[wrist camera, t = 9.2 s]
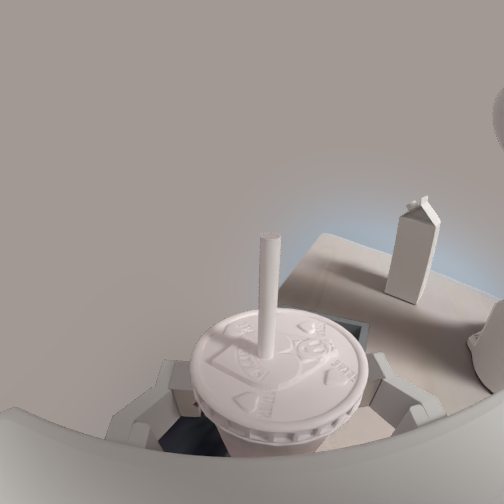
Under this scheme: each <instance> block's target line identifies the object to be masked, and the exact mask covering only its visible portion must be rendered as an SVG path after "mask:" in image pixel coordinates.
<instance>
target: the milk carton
mask: <svg viewBox="0 0 504 504" xmlns="http://www.w3.org/2000/svg"><path fill="white" fill-rule="evenodd" d="M406 207H407V208H408V210H409V212H407V213H405V214H404V215H402V216H400V218H399V224H398V229H397V235H396V241H395V246H394V251H393V256H392V261H391V265H390V270H389V274H388V279H387V283H386V287H385V291H384V292H385V293H387V294H390V295H392V296H395V297H397V298H400V299H402V300H405V301H408V302H410V303H413V304H415V305H416V304H417V303H418V301H419V299H420V297H421V296H422V294H423V292H424V289H425V286H426V282H427V279H428V275H429V272H430V268H431V264H432V260H433V256H434V252H435V247H436V243H437V238H438V234H439V229H440V223H441V220H440V219H439V217H438V216H437V214H436V213H435V211H434V210H433V209H432V207H431V206H430V204H429V203H428V196H425V197H423V198H421V201H420V205H419V206H418V204H417V203H416V201H413V202H411V203H409V204H408V205H406Z"/></svg>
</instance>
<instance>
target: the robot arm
mask: <svg viewBox="0 0 504 504" xmlns="http://www.w3.org/2000/svg"><path fill="white" fill-rule="evenodd" d="M493 125H494V130H495V134H496V137H497V139H498V142H499V144H500V146H501V148H502V149H503V151H504V88H503V89H502V90H501V91H500V92H499V93H498V95H497V97H496V99H495V103H494V106H493ZM467 345H468V347H469V349H470V351H471V352H472V358H473V365H474V368H475V371H476V373H477V375H478V377H479V378H480V380H481V381H482V382H483V384H484V385H485V386H486V387H487V388H488V389H489V390H490V391H492V392H493V393H494V394H492V395H491V396H489V397H487V398H485V399H483V400H481V401H479V402H477V403H475V404H473V405H471V406H469V407H467V408H465V409H463V410H461V411H459V412H457V413H454V414H452V415H450V416H447V414H446V412H445V411H444V409H443V407H442V405H441V404H440V402H439V400H438V399H437V397H435V396H433V395H431V394H430V393H428V392H426V391H424V390H423V389H421V388H419V387H417V386H416V385H414V384H412V383H411V382H409V381H407V380H405V379H404V378H402V377H400V376H396V375H395V373H394V372H393V370H392V368H391V366H390V364H389V363H388V361H387V359H386V357H385V356H384V354H383V353H382V352H376V353H371V354H366V357H367V361H368V369H369V371H368V379H367V383H366V386H365V389H364V391H363V395H362V399H361V403H360V405H359V406H358V408H359V407H365V406H369V407H370V408H372V409H373V410H374V411H375V412H376V413H377V414H379V415H380V416H381V417H382V418H383V419H384V420H386V421H387V422H388V423H389V424H390V425H392V426H393V427H394V428H395V431H394V432H393V433H392V435H391V436H390V437H387V438H384V439H380V440H376V441H372V442H368V443H364V444H360V445H355V446H350V447H345V448H340V449H334V450H328V451H322V452H315V453H307V454H298V455H287V456H273V457H210V456H196V455H185V454H176V453H169V452H164V451H163V450H162V448H161V446H160V444H159V442H158V440H159V439H160V438H161V437H162V436H163V435H164V434H165V433H166V432H167V431H168V429H169V428H170V427H171V426H172V425H173V424H174V423H175V422H176V421H177V420H178V419H179V418H180V416H191V417H200V414H201V408H200V406H199V404H198V403H197V401H196V399H195V397H194V392H193V387H192V382H191V379H192V377H191V372H190V362H189V361H177V360H176V361H175V360H164V361H163V363H162V366H161V369H160V372H159V375H158V378H157V382H156V385H155V388H152V387H151V388H150V389H149V390H147V391H146V392H145V393H143V394H142V395H141V396H139V397H138V398H137V399H135V400H134V401H133V402H131V403H130V404H129V405H127V406H126V407H125V408H123V409H122V410H121V411H120V412H118V413H117V414H115V415H114V416H113V417H112V420H111V422H110V425H109V428H108V431H107V433H106V436H105V439H104V440H103V439H100V438H96V437H93V436H90V435H86V434H83V433H80V432H77V431H74V430H71V429H68V428H66V427H63V426H60V425H57V424H55V423H52V422H50V421H47V420H45V419H42V418H40V417H38V416H35V415H33V414H31V413H29V412H27V411H25V410H22V409H20V408H18V407H13V408H9V409H7V410H5V411H3V412H1V413H0V504H504V300H502V301H499V302H498V303H495V305H494V307H493V309H492V311H491V313H490V315H489V317H488V319H487V321H486V323H485V325H484V327H483V329H482V330H481V331H479V332H477V333H475V334H473V335H471V336H470V337H469V339H468V340H467Z"/></svg>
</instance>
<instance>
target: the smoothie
mask: <svg viewBox="0 0 504 504" xmlns="http://www.w3.org/2000/svg"><path fill="white" fill-rule="evenodd" d="M280 245H281V235H280V234H277V233H263V234H261V235H260V267H259V309H256V310H249V311H246V312H242V313H238V314H235V315H233V316H230V317H228V318H225V319H223V320H222V321H220V322H218V323H216V324H215V325H213V326H212V327H211V328H210V329H208V330H207V331H206V332H205V333H204V334H203V335H202V336H201V337H200V339H199V340H198V342H197V343H196V345H195V347H194V349H193V352H192V355H191V359H190V372H191V377H192V379H191V382H192V387H193V392H194V397H195V399H196V401H197V403H198V404H199V406H200V408H201V409H202V411H203V412H204V414H205V416H206V417H208V418H209V419H210V420H211V421H212V422H213V423H215V425H216V427H217V429H218V431H219V433H220V435H221V437H222V440H223V442H224V444H225V446H226V448H227V450H228V452H229V454H230V456H231V457H273V456H287V455H298V454H307V453H315V451H316V450H317V449H318V448H319V446H320V445H321V444H322V443H323V441H324V440H325V439H326V437H327V436H328V435H330V434H331V433H333V432H334V431H336V430H337V429H338V428H340V427H341V426H342V425H344V424H345V423H346V422H347V421H349V419H350V418H351V417H352V415H353V414H354V412H355V411H356V409H357V408H358V406H359V405H360V403H361V399H362V395H363V391H364V389H365V386H366V383H367V379H368V371H369V369H368V361H367V357H366V354H365V352H364V350H363V348H362V346H361V345H360V343H359V342H358V341H357V339H356V338H355V337H354V336H353V335H352V334H351V333H350V332H348V331H347V330H346V329H345V328H343V327H342V326H341V325H339V324H337V323H335V322H334V321H332V320H330V319H328V318H325V317H323V316H320V315H318V314H314V313H311V312H307V311H303V310H296V309H290V308H277V301H278V284H279V266H280V247H281V246H280Z"/></svg>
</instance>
